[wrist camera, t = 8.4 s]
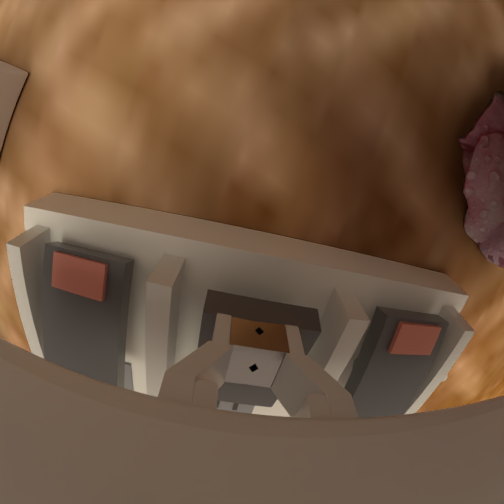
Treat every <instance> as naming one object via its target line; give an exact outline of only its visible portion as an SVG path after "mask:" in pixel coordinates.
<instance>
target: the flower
mask: <svg viewBox="0 0 504 504" xmlns="http://www.w3.org/2000/svg"><path fill="white" fill-rule="evenodd" d="M459 146H460V147H461V149H462V150H463V168H464V172H465V176H466V179H465V183H464V188H463V194H464V195H465V197H466V200H467V203H468V207H469V208H468V210H467V213H466V215H465V217H464V228H465V231H466V234H467V235H468V236H469V237H470V238H471V239H472V240H474V241H475V242H476V243H477V245H478V246H479V249H480V251H481V252H482V254H483V255H484V257H485V258H486V260H487V261H489V262H491V263H493V264H495V265H497V266H500V267H504V93H503V92H501V91H499V92H496V93H495V94H494V96H493V97H492V99H491V100H490V102H489V103H488V105H487V106H486V107H485V109H484V110H483V112H482V113H481V114H480V116H479V117H478V118H477V120H476V121H475V124H474V127H473V128H472V129H471V130H470V131H469V132H468V133H467V134H466V135H465V136H463V137H461V138H460V139H459Z"/></svg>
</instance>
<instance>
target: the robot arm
mask: <svg viewBox="0 0 504 504" xmlns="http://www.w3.org/2000/svg"><path fill="white" fill-rule="evenodd" d="M224 382H231V383H239V384H248V385H254V386H261V387H268V388H271V390H272V392H273V393H274V394H275V396H276V397H277V399H278V400H279V401H280V403H281V404H282V406H283V407H284V408H285V410H286V411H287V413H288V414H289V415H290V417H283V416H270V415H260V414H250V413H242V412H234V411H227V410H220V409H217V397H218V389H219V388H220V387H221V386H222V385H223V384H224ZM0 504H504V396H499V397H496V398H492V399H488V400H484V401H480V402H476V403H472V404H467V405H462V406H457V407H452V408H447V409H441V410H435V411H428V412H421V413H413V414H404V415H394V416H382V417H366V418H358V414H357V411H356V408H355V405H354V402H353V399H352V395H351V394H350V393H349V392H348V391H347V390H346V389H345V388H344V387H342V386H341V385H340V384H339V383H338V382H337V381H336V380H335V379H334V378H333V377H331V376H330V375H329V374H328V373H327V372H326V371H325V370H324V369H323V368H322V367H320V366H319V365H318V364H317V363H316V362H315V361H314V360H313V359H312V358H311V357H310V356H307V355H305V353H304V348H303V344H302V340H301V335H300V331H299V328H298V327H297V326H292V325H281V324H275V323H268V322H262V321H257V320H252V319H247V318H242V317H237V316H231V315H227V314H222V313H217V317H216V322H215V326H214V331H213V336H212V341H208V342H206V343H205V344H203V345H202V346H201V347H199V348H198V349H196V350H195V351H193V352H192V353H191V354H189V355H188V356H186V357H185V358H183V359H182V360H180V361H179V362H178V363H176V364H175V365H173V366H172V367H170V368H169V369H167V370H166V371H165V374H164V377H163V380H162V384H161V387H160V391H159V394H158V397H155V396H151V395H147V394H143V393H140V392H136V391H133V390H129V389H126V388H122V387H119V386H116V385H112V384H109V383H106V382H103V381H100V380H97V379H94V378H91V377H89V376H86V375H83V374H80V373H78V372H75V371H72V370H70V369H67V368H65V367H62V366H60V365H57V364H55V363H53V362H50V361H48V360H46V359H43V358H41V357H39V356H37V355H35V354H32V353H30V352H28V351H26V350H24V349H22V348H20V347H18V346H16V345H14V344H12V343H10V342H8V341H6V340H4V339H2V338H1V337H0Z"/></svg>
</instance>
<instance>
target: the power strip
mask: <svg viewBox="0 0 504 504" xmlns="http://www.w3.org/2000/svg"><path fill="white" fill-rule="evenodd" d="M24 222H25V232H24V233H22V234H20V235H19V236H17V237H16V238H14V239H12V240H11V241H9V242H8V243H6V244H7V252H8V259H9V265H10V271H11V276H12V282H13V287H14V291H15V296H16V300H17V304H18V308H19V312H20V316H21V320H22V323H23V327H24V330H25V333H26V337H27V340H28V343H29V346H30V349H31V352H32V354H35V355H37V356H39V357H41V358H43V359H45V358H44V346H43V329H42V279H43V261H44V249H45V243H50V242H57V241H59V242H63V243H67V244H71V245H75V246H79V247H83V248H87V249H91V250H95V251H99V252H104V253H108V254H112V255H116V256H121V257H125V258H129V259H134V267H133V275H132V283H131V291H130V300H129V310H128V321H127V335H126V351H125V378H124V388H126V389H129V390H133V391H136V392H140V393H143V394H147V395H151V396H155V397H158V394H159V391H160V387H161V384H162V380H163V377H164V374H165V371H166V370H167V369H169V368H170V367H172V366H173V365H175V364H176V363H178V362H179V361H180V360H182V359H183V358H185V357H186V356H188V355H189V354H191V353H192V352H193V351H195V350H196V349H198V342H199V335H200V328H201V321H202V314H203V309H204V304H205V300H206V295H207V291H208V289H210V290H215V291H220V292H225V293H230V294H235V295H240V296H246V297H251V298H257V299H262V300H268V301H273V302H279V303H285V304H291V305H297V306H303V307H309V308H315V309H318V313H319V319H320V325H321V333H320V335H319V337H318V338H317V340H316V342H315V343H314V345H313V346H312V348H311V350H310V351H309V353H308V354H307V356H310V357H311V358H312V359H313V360H314V361H315V362H316V363H317V364H318V365H319V366H320V367H322V368H323V369H324V370H325V371H326V372H327V373H328V374H329V375H330V376H331V377H333V378H334V379H335V380H336V381H337V382H338V383H339V384H340V385H341V386H342V387H345V385H346V383H347V380H348V378H349V376H350V374H351V371H352V367H353V362H354V360H355V359H356V358H357V357H358V355H359V352H360V350H361V348H362V345H363V342H364V340H365V337H366V335H367V332H368V329H369V327H370V324H371V321H372V318H373V316H374V313H375V310H376V307H377V306H379V307H386V308H393V309H400V310H407V311H414V312H421V313H428V314H436V315H439V316H440V317H442V318H443V319H445V320H446V321H447V322H449V326H448V328H447V331H446V333H445V335H444V338H443V340H442V342H441V345H440V347H439V349H438V351H437V354H436V356H435V358H434V360H433V362H432V364H431V366H430V368H429V370H428V372H427V374H426V376H425V378H424V380H423V382H422V384H421V386H420V388H419V389H418V391H417V393H416V395H415V397H414V398H413V400H412V402H411V404H410V405H409V407H408V409H407V410H406V412H405V414H413V413H416V412H417V410H418V409H419V408H420V407H421V406H422V405H423V403H424V402H425V401H426V400H427V399H428V397H429V396H430V395H431V394H432V393H433V391H434V390H435V389H436V388H437V386H438V385H439V384H440V382H443V381H445V380H446V379H447V373H448V372H449V370H450V369H451V368H452V366H453V365H454V363H455V362H456V360H457V359H458V358H459V356H460V355H461V353H462V352H463V350H464V349H465V347H466V346H467V344H468V342H469V341H470V339H471V338H472V336H473V334H474V333H475V331H474V330H473V328H472V327H471V326H470V325H469V324H468V323H467V322H466V320H465V319H464V318H463V317H462V316H461V315H460V312H461V310H462V308H463V307H464V305H465V303H466V301H467V299H468V297H469V296H468V295H467V294H466V293H465V292H464V291H463V290H462V289H461V288H460V287H459V286H458V285H457V284H456V283H455V282H454V281H453V280H452V279H451V278H449V277H448V276H447V275H446V274H444V273H440V272H436V271H432V270H428V269H424V268H420V267H416V266H412V265H408V264H403V263H399V262H395V261H391V260H387V259H383V258H378V257H374V256H370V255H366V254H361V253H357V252H353V251H348V250H344V249H340V248H335V247H331V246H326V245H322V244H317V243H313V242H308V241H304V240H299V239H295V238H290V237H285V236H281V235H276V234H271V233H267V232H262V231H257V230H252V229H248V228H243V227H238V226H233V225H228V224H223V223H218V222H213V221H209V220H204V219H198V218H193V217H188V216H183V215H178V214H173V213H168V212H162V211H157V210H152V209H146V208H141V207H136V206H130V205H125V204H119V203H114V202H108V201H102V200H97V199H91V198H85V197H79V196H74V195H68V194H62V193H56V192H53V193H51V194H48V195H46V196H44V197H42V198H39V199H37V200H35V201H33V202H31V203H29V204H26V205H24ZM217 409H220V410H227V411H234V412H242V413H250V414H260V415H270V416H283V417H290V415H289V414H288V413H287V411H286V410H285V408H284V407H283V406H282V404H281V403H280V401H279V400H278V399H277V400H276V402H275V403H274V405H273V406H272V407H263V406H254V405H246V404H238V403H231V402H224V401H218V400H217Z"/></svg>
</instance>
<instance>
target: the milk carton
mask: <svg viewBox="0 0 504 504" xmlns="http://www.w3.org/2000/svg"><path fill="white" fill-rule="evenodd" d="M27 75H28V73H27V72H26V71H24V70H22V69H19V68H17V67H15V66H12V65H10V64H8V63H5V62H3V61H1V60H0V152H1V148H2V145H3V141H4V138H5V134H6V131H7V128H8V125H9V122H10V119H11V116H12V113H13V110H14V107H15V105H16V102H17V100H18V97H19V94H20V92H21V89H22V87H23V85H24V82H25V80H26V78H27Z"/></svg>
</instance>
